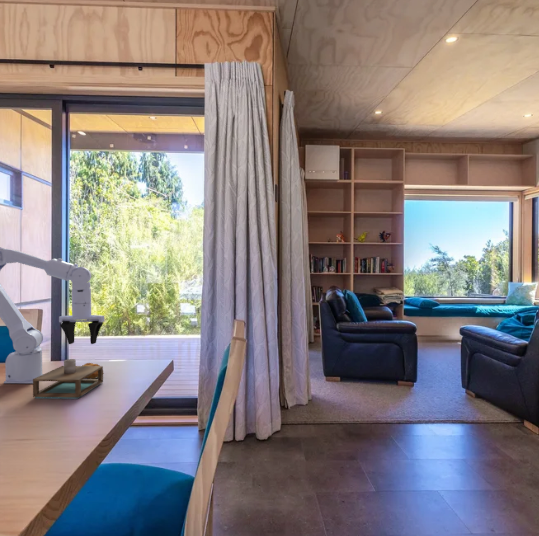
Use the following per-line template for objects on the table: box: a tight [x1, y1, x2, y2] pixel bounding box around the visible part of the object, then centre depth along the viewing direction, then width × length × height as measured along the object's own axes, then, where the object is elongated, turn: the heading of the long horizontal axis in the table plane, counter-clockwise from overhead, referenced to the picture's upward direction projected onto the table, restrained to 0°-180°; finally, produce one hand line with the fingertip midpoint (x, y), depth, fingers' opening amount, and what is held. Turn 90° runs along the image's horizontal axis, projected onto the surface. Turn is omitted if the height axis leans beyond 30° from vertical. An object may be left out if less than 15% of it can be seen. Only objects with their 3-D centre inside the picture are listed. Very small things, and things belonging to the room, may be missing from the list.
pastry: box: [81, 362, 105, 379], centre depth 120 cm, size 9×7×4 cm
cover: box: [32, 358, 104, 398], centre depth 106 cm, size 13×13×8 cm
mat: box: [34, 383, 99, 400], centre depth 106 cm, size 12×12×1 cm
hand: (82, 343), depth 121 cm, fingers open, 7 cm apart
